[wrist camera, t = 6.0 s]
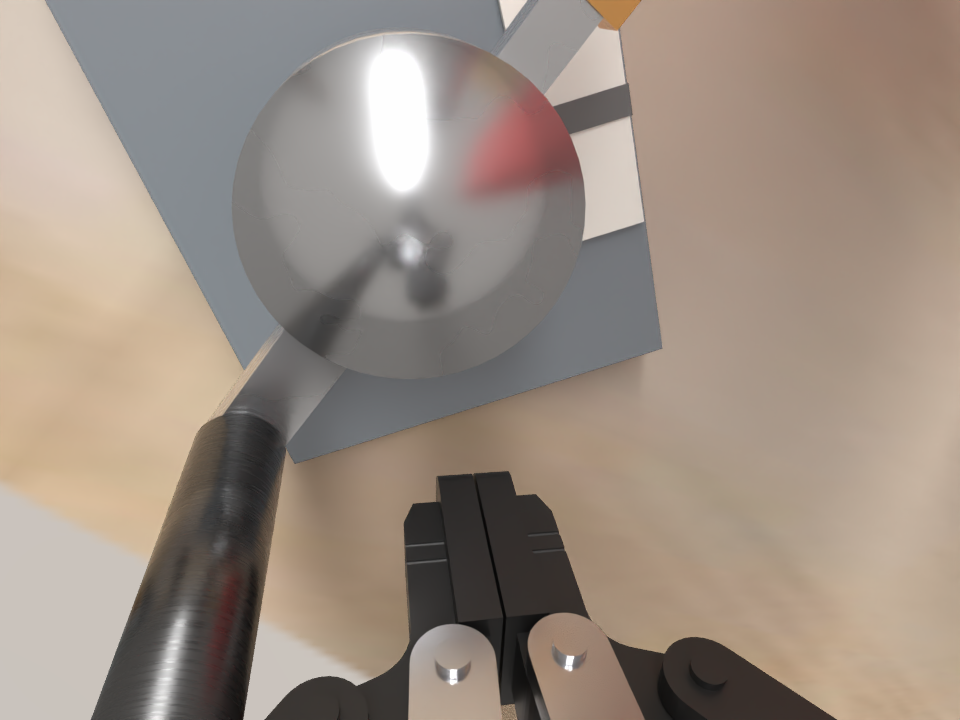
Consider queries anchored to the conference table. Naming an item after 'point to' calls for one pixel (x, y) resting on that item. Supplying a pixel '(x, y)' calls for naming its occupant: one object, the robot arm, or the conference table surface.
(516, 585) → the robot arm
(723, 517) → the conference table surface
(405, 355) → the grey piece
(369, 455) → the conference table surface
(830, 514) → the conference table surface
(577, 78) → the stand
